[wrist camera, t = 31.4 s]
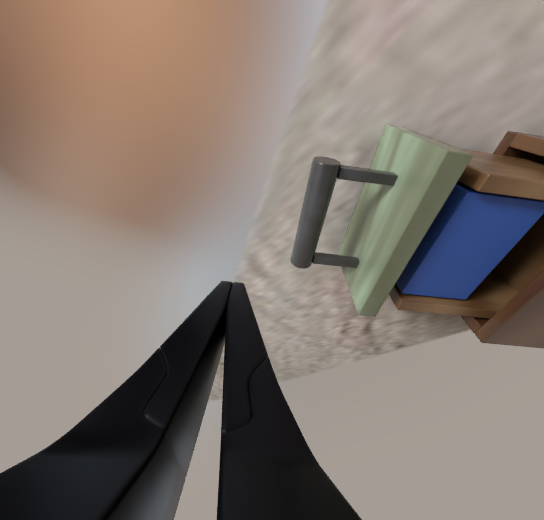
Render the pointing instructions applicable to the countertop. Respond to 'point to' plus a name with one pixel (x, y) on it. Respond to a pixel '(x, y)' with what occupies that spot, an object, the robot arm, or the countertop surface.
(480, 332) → the cabinet
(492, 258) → the block
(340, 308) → the countertop surface
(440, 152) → the drawer
